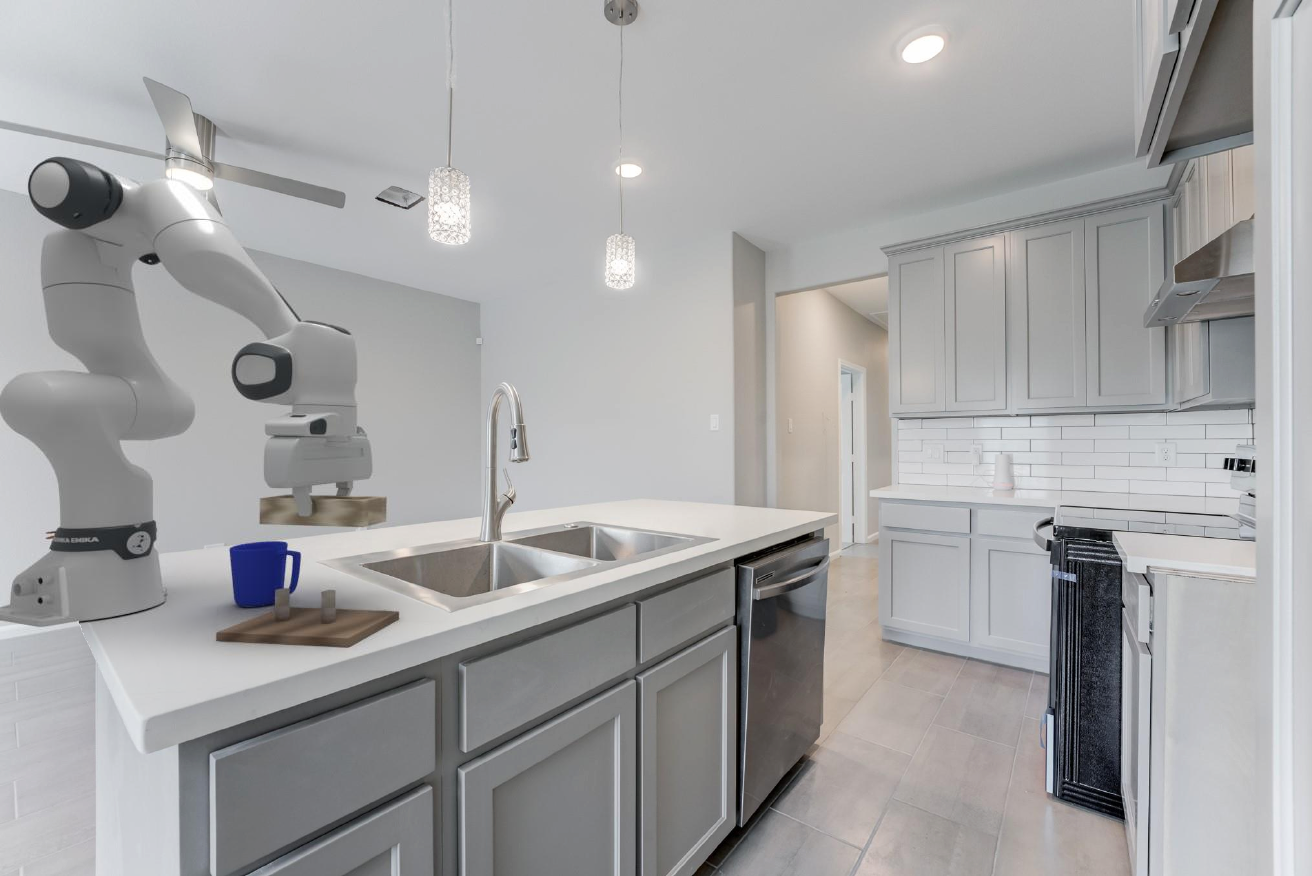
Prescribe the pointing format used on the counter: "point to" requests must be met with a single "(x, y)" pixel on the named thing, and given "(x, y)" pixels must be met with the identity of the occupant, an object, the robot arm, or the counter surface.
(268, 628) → the board
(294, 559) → the mug
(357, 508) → the two-compartment stone tray
